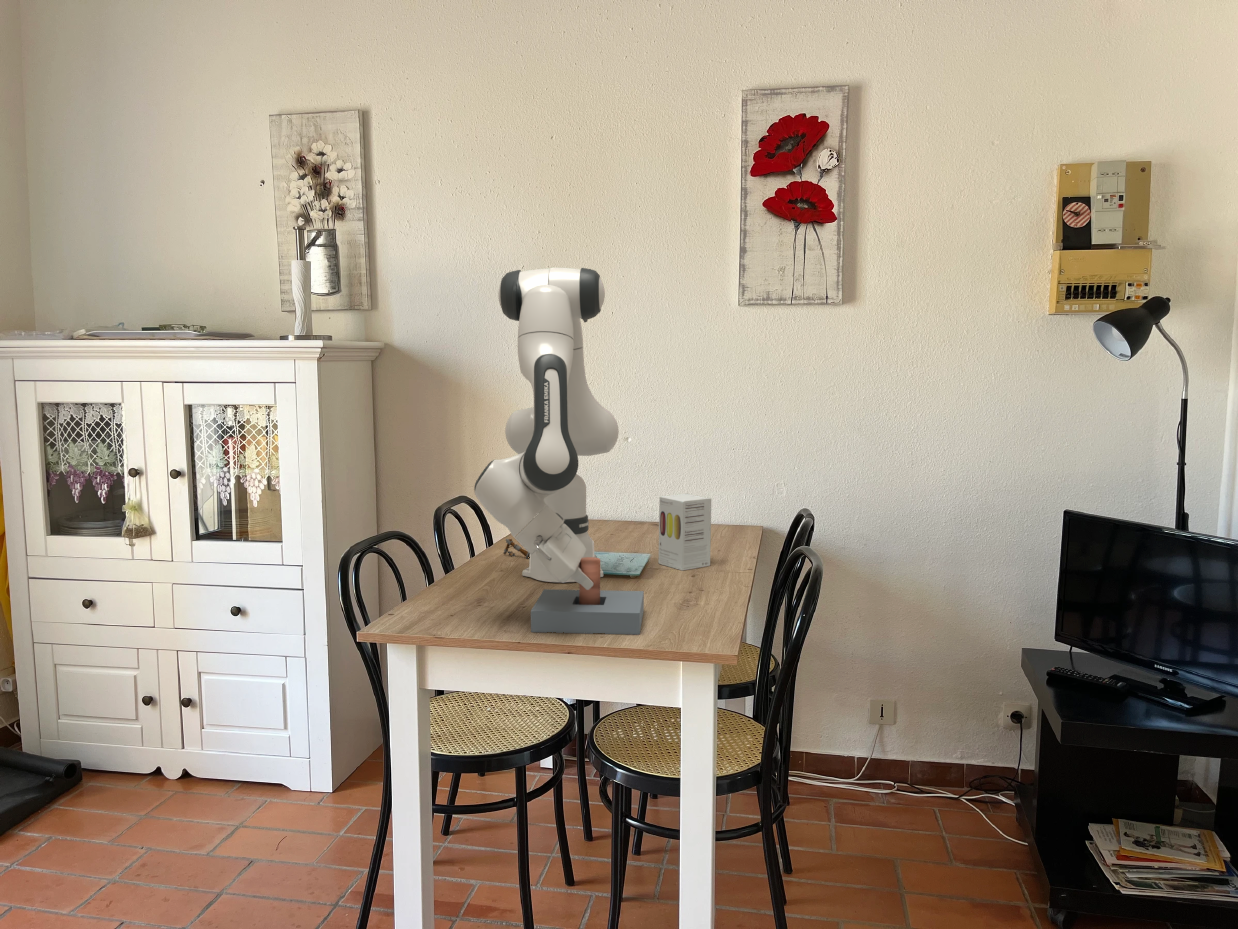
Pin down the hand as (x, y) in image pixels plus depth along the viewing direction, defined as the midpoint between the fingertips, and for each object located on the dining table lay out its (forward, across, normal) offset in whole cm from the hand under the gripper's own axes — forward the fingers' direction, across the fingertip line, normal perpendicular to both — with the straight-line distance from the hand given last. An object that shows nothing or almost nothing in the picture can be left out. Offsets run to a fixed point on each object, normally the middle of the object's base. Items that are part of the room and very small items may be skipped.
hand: (592, 583), depth 176 cm
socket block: (+5, 0, +6) cm, 7 cm away
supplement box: (+18, +50, -7) cm, 53 cm away
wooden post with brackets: (-12, +56, +23) cm, 62 cm away
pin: (+3, 0, +4) cm, 5 cm away
